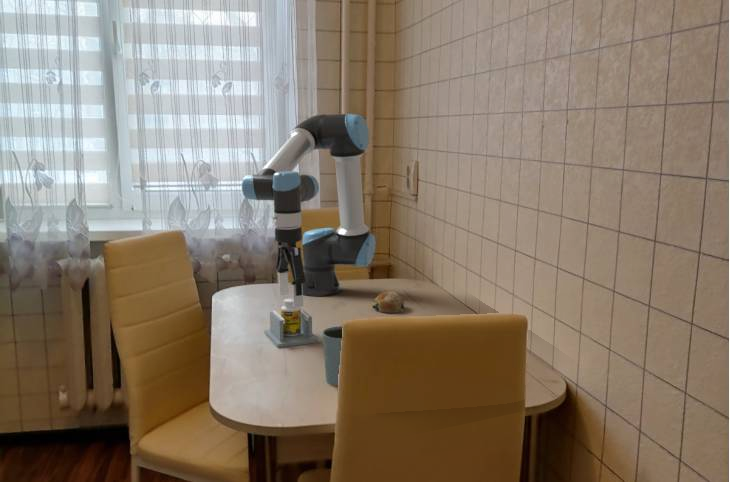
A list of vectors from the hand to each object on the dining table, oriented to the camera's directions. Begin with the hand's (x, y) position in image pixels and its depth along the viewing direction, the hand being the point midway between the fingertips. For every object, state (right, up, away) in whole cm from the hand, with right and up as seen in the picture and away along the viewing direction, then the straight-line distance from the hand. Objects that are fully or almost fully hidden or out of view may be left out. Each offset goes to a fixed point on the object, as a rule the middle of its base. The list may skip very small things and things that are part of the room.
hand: (290, 300), depth 190 cm
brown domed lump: (+29, -6, +30) cm, 43 cm away
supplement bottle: (0, -10, +1) cm, 10 cm away
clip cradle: (0, -11, +1) cm, 11 cm away
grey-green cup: (+16, -17, -30) cm, 38 cm away
